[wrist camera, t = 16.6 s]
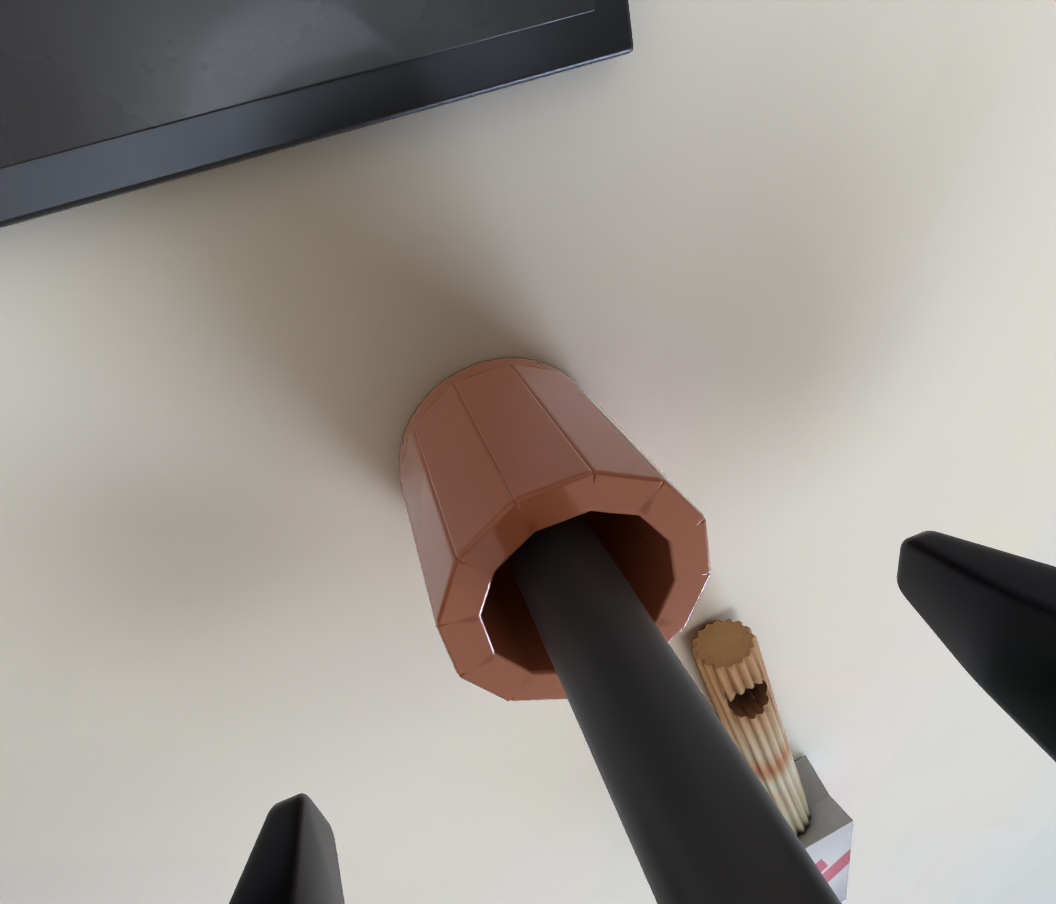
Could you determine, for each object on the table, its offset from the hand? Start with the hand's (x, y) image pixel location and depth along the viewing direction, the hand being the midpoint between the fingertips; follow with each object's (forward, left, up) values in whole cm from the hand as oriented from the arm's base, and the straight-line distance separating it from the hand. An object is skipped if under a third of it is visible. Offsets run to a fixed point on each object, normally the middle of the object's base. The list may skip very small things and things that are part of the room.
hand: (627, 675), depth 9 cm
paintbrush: (+6, -18, -7) cm, 20 cm away
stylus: (0, 0, -6) cm, 6 cm away
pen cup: (0, 0, -7) cm, 7 cm away
